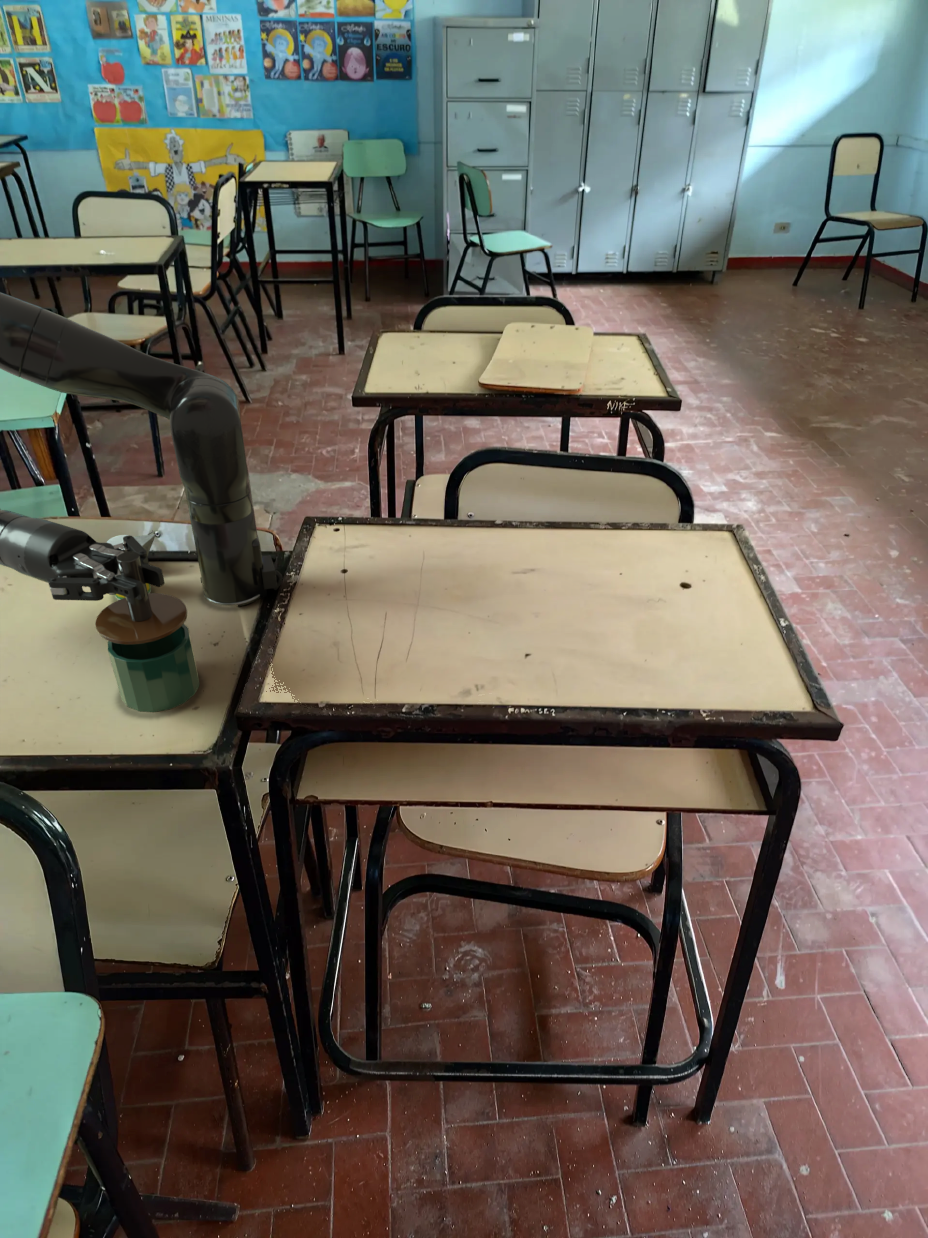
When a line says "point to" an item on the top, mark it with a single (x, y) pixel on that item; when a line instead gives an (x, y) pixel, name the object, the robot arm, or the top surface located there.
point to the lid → (139, 611)
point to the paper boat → (146, 541)
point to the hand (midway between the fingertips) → (151, 584)
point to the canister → (155, 672)
